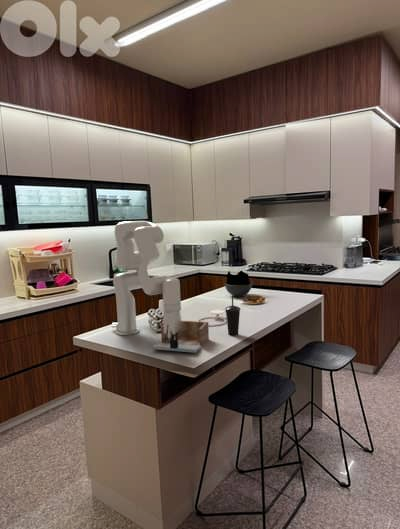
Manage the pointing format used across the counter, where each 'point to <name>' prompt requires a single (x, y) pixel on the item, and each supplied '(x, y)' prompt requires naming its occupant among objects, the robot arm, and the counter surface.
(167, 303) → the robot arm
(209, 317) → the hand towel holder
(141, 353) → the counter surface
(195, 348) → the panel
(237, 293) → the coal bowl
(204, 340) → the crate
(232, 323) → the drinking cup
